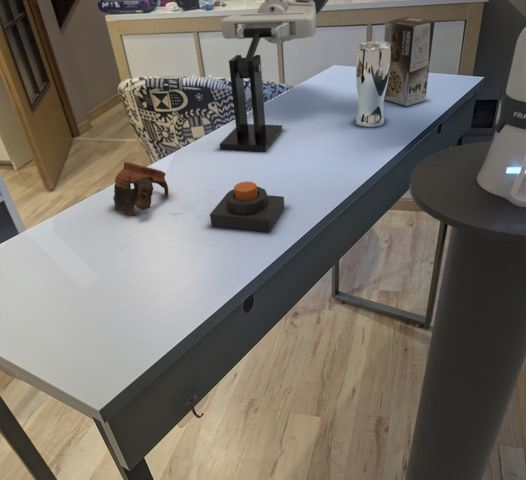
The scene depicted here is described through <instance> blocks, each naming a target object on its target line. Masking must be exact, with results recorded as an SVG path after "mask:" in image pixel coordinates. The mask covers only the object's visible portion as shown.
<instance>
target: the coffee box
mask: <svg viewBox="0 0 526 480" xmlns="http://www.w3.org/2000/svg"><path fill="white" fill-rule="evenodd" d="M435 23H436V20H432V19H425V18H418V17H411V16H403V17H399V18H395V19H393V20H389V21H385V23H384V40H383V41H385V42H389V43H391V68H390V76H389V81H388V86H387V90H386V94H385V98H384V101H388V102H391V103H395V104H398V105H402V106H405V107H408V106H412V105H415V104H418V103H423V102H425V101H426V98H427V91H428V82H429V72H430V64H431V57H432V48H433V39H434V32H435Z"/></svg>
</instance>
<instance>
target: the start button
mask: <svg viewBox="0 0 526 480" xmlns="http://www.w3.org/2000/svg"><path fill="white" fill-rule="evenodd" d="M257 186H258V185H257V183H255V182H254V181H241V182H238V183H236V184H235V185H234V186H233V189H234V191H235V198H236V199H237V200H240V201H248V200H253V199H255V198H257V196H258V194H257Z"/></svg>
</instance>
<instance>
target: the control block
mask: <svg viewBox="0 0 526 480" xmlns="http://www.w3.org/2000/svg"><path fill="white" fill-rule="evenodd" d="M257 194H258V196H257V198H255V199H253V200H248V201H240V200H237V199H236V198H235V191H234V188H233V189H231V190H229V191H228V192H227V193H226V194H225V195H224V196H223V198H222V199H221V200H220V201H219V202H218V204H217V205H216V206H215V208H213V210H212V211H211V212H210V213H209V218H210V224H211V227H214V228H215V227H216V228H225V229H236V230H243V231H244V230H245V231H254V232H265V233H271V231H272V230H273V228H274V227H275V225H276V224H277V221H279V218H280V217H281V215H282V214H283V211H284V210H285V197H284V196H282V195H281V196H280V195H268V192H267V191H266V189H265V188H263V187H261V186H258V185H257Z"/></svg>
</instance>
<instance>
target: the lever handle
mask: <svg viewBox="0 0 526 480" xmlns="http://www.w3.org/2000/svg"><path fill="white" fill-rule="evenodd" d="M243 34H244V37H245V39H252V40H251V41H250V45H249V47H248V50H247V53H246V56H245V57H241V59H240V62H239V64H238V67H237V69H238V73H239V76H240V78H243V79H250V75H249V64H248V61H249V60H250V59H251V58H253V57H254V56H255V55H256V51H257V49H258V46H259V43H260V41H261V39H264V38H268V37H271V35H272V33H271V28H244V33H243Z"/></svg>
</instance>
